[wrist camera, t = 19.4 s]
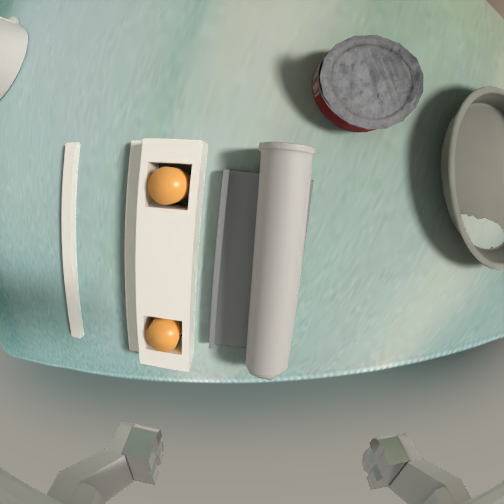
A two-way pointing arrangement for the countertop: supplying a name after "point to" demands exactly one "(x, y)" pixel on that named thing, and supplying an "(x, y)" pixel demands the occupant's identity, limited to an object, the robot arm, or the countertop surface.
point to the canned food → (367, 83)
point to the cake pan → (476, 167)
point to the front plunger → (169, 185)
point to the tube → (277, 255)
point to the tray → (235, 258)
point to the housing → (147, 247)
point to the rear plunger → (164, 334)
